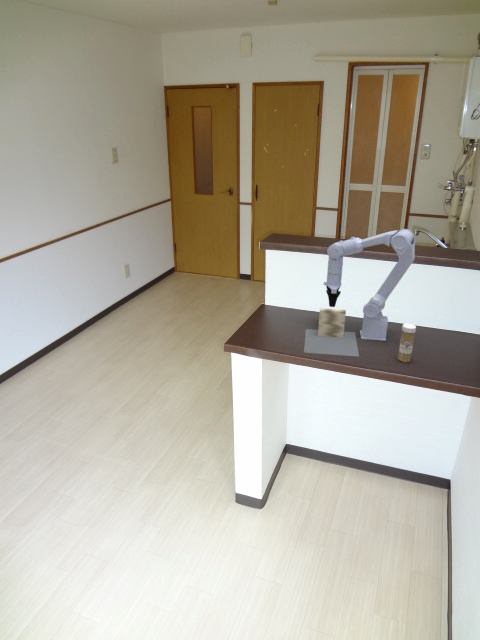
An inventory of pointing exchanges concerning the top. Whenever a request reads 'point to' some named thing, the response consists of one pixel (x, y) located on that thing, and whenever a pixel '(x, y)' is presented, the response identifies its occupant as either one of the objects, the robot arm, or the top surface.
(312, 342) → the slate mat
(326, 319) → the teal framed tile
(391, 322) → the top surface
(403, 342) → the sprinkles bottle
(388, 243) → the robot arm
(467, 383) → the top surface
